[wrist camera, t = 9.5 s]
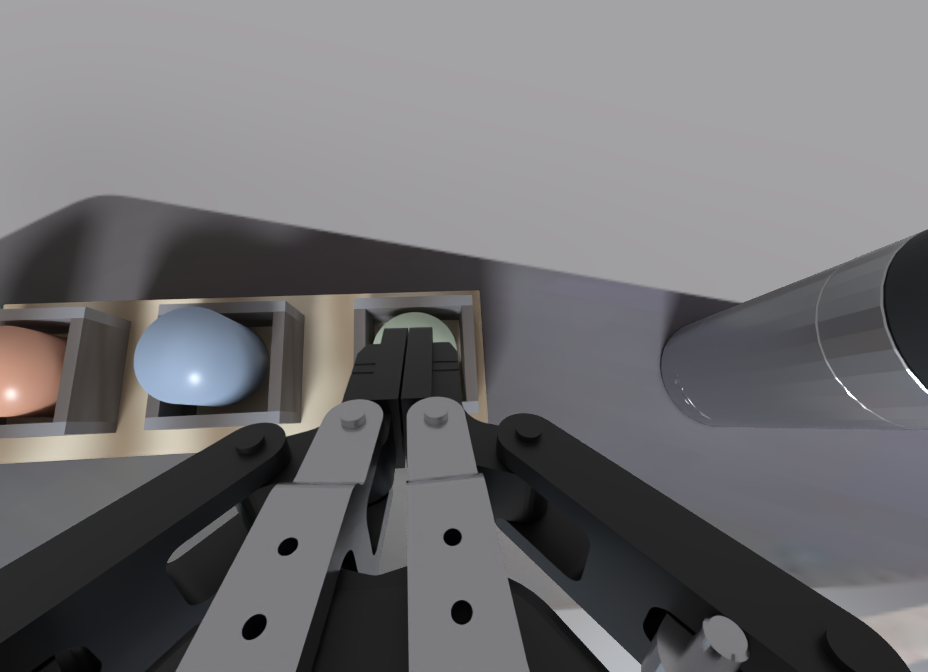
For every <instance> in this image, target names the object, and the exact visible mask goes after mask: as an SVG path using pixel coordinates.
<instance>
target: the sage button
mask: <svg viewBox="0 0 928 672" xmlns="http://www.w3.org/2000/svg"><path fill="white" fill-rule="evenodd" d="M412 327H432V328H433V342H450V343H451V344H452V345H453V347H454V348H455V349H456V350H457V347H456V342H455V339H454V337H453V335H452V333H451V331H450V330H449V328H448V327H447V326H446V325H445V324H444V323H443V322H442V321H440V320H439V319H437V318H436V317H434V316H432V315H429V314H426V313H420V312H410V313H405V314H401V315H398V316H396V317H394V318H392V319H391V320H389V321H388V322H387V323H386V324H385V325H384V326H383V327H382V328H381V329H380V330H379V332H378V333H377V335H376V337H375V340H374V343H373V344H380V343H381V339H382V335H383V331H384V328H408V331H409V328H412Z"/></svg>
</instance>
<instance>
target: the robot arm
mask: <svg viewBox="0 0 928 672" xmlns="http://www.w3.org/2000/svg"><path fill="white" fill-rule="evenodd" d="M661 372H662V378H663V382H664V385H665V387H666V390H667V392H668V394H669V396H670V397H671V399H672V401H673V402H674V403H675V404H676V405H677V406H678V408H679V409H680V410H681V411H682V412H684V413H685V414H686V415H688V416H689V417H690V418H692V419H694V420H696V421H698V422H700V423H702V424H706V425H710V426H719V427H754V428H816V429H879V430H928V230H925V231H923V232H921V233H918V234H915V235H913V236H910V237H908V238H905V239H903V240H900V241H898V242H895V243H892V244H890V245H887V246H885V247H882V248H880V249H877V250H875V251H873V252H870V253H867V254H865V255H863V256H860V257H857V258H855V259H853V260H851V261H848V262H846V263H843V264H840V265H838V266H835V267H833V268H830V269H828V270H825V271H822V272H820V273H817V274H815V275H813V276H810V277H807V278H805V279H802V280H800V281H797V282H795V283H792V284H790V285H787V286H785V287H782V288H779V289H777V290H774V291H772V292H769V293H767V294H764V295H762V296H759V297H757V298H754V299H752V300H749V301H746V302H744V303H741V304H739V305H736V306H734V307H731V308H729V309H726V310H724V311H721V312H718V313H716V314H713V315H711V316H708V317H706V318H703V319H701V320H698V321H696V322H693V323H691V324H688V325H686V326H683V327H682V328H681V329H679V330H678V331H676V332H675V333H674V334H673V335H672V336H671V338H670V339H669V340H668V342H667V344H666V346H665V348H664V351H663V355H662V359H661ZM405 459H407V468H408V481H407V483H406V501H407V566H406V567H403V568H400V569H397V570H394V571H391V572H388V573H385V574H381V575H378V570H379V562H380V557H381V552H382V547H383V542H384V537H385V532H386V527H387V522H388V517H389V512H390V507H391V502H392V496H393V489H392V485H393V481H394V472H395V468H405ZM234 506H236V508H237V510H238V512H239V513H238V514H237V515H236V516H234V517H233V518H232V519H230V520H229V521H228V522H226V523H225V524H224V525H222V526H221V527H220V528H218V529H217V530H216V531H214V532H213V533H212V534H210V535H209V536H208V537H206V538H205V539H204V540H202V541H201V542H200V543H198V544H197V545H196V546H194V547H193V548H192V549H190V550H189V551H188V552H186V553H185V554H184V555H182V556H181V557H180V558H178V559H176V560H175V561H173V562H170V563H167V561H168V559H169V557H170V556H171V555H172V553H173V552H174V551H175V550H176V549H177V548H178V547H179V546H180V545H182V544H183V543H184V542H186V541H187V540H188V539H190V538H191V537H193V536H194V535H195V534H197V533H198V532H199V531H201V530H202V529H204V528H205V527H206V526H208V525H209V524H210V523H212V522H213V521H215V520H216V519H217V518H219V517H220V516H221V515H223V514H224V513H225V512H227V511H228V510H230V509H231V508H232V507H234ZM495 523H496V525H497V526H498V527H499V529H500V530H501V531H502V532H503V533H504V534H506V535H507V536H508V537H509V538H510V539H511V540H512V541H513V542H514V543H515V544H516V545H517V546H518V547H519V548H520V549H521V550H522V551H523V552H524V553H525V554H526V555H527V556H528V557H530V558H531V559H532V560H533V561H534V562H535V563H536V564H537V565H538V566H539V567H540V568H541V569H542V570H543V571H544V572H545V573H546V574H547V575H548V576H549V577H550V578H551V579H552V580H553V581H555V582H556V583H557V584H558V585H559V586H560V587H561V588H562V589H563V590H564V591H565V592H566V593H567V594H568V595H569V596H570V597H571V598H572V599H573V600H574V601H575V602H576V603H577V604H578V605H580V606H581V607H582V608H583V609H584V610H585V611H586V612H587V613H588V614H589V615H590V616H591V617H592V618H593V619H594V620H595V621H596V622H597V623H598V624H599V625H600V626H601V627H603V628H604V629H605V630H606V631H607V632H608V633H609V634H610V635H611V636H612V637H613V638H614V639H615V640H616V641H617V642H618V643H619V644H620V645H621V646H623V648H624V649H626V651H628V652H629V653H630V654H631V655H632V656H633V657H634V658H635V659H636V660H637V661H638V662H639V663H640V664H641V665H642V666H641V672H911V671H910V670H909V668H908V667H907V665H906V664H905V662H904V661H903V660H902V658H901V657H900V656H899V655H898V653H897V652H896V651H895V650H894V649H893V648H892V647H891V646H890V645H889V644H888V643H887V642H886V641H885V640H884V639H883V638H882V637H881V636H880V635H879V634H878V633H877V632H875V631H874V630H873V629H872V628H870V627H869V626H868V625H867V624H865V623H864V622H862V621H861V620H859V619H858V618H857V617H855V616H853V615H852V614H850V613H849V612H847V611H846V610H844V609H842V608H841V607H839V606H838V605H836V604H835V603H833V602H831V601H830V600H828V599H827V598H825V597H823V596H822V595H821V594H819V593H817V592H816V591H814V590H813V589H811V588H810V587H808V586H806V585H805V584H803V583H802V582H800V581H799V580H797V579H795V578H794V577H792V576H791V575H789V574H788V573H786V572H784V571H783V570H781V569H780V568H778V567H777V566H775V565H774V564H772V563H770V562H769V561H767V560H766V559H764V558H763V557H761V556H759V555H758V554H756V553H755V552H753V551H752V550H750V549H748V548H747V547H745V546H744V545H742V544H741V543H739V542H737V541H736V540H734V539H733V538H731V537H730V536H728V535H727V534H725V533H723V532H722V531H720V530H719V529H717V528H716V527H714V526H712V525H711V524H709V523H708V522H706V521H705V520H703V519H701V518H700V517H698V516H697V515H695V514H694V513H692V512H690V511H689V510H687V509H686V508H684V507H683V506H681V505H679V504H678V503H676V502H675V501H673V500H672V499H670V498H669V497H667V496H665V495H664V494H662V493H661V492H659V491H658V490H656V489H654V488H653V487H651V486H650V485H648V484H647V483H645V482H643V481H642V480H640V479H639V478H637V477H636V476H634V475H632V474H631V473H629V472H628V471H626V470H625V469H623V468H622V467H620V466H618V465H617V464H615V463H614V462H612V461H611V460H609V459H607V458H606V457H604V456H603V455H601V454H600V453H598V452H596V451H595V450H593V449H592V448H590V447H589V446H587V445H585V444H584V443H582V442H581V441H579V440H578V439H576V438H575V437H573V436H571V435H570V434H568V433H567V432H565V431H564V430H562V429H560V428H559V427H557V426H556V425H554V424H553V423H551V422H549V421H548V420H546V419H544V418H542V417H540V416H537V415H534V414H526V413H521V414H514V415H511V416H509V417H507V418H505V419H504V420H503V421H502V422H501V423H500V424H499V426H498V425H493V424H488V423H484V422H481V421H478V420H476V419H474V418H473V417H471V416H470V415H469V414H468V413H467V412H466V411H465V410H464V408H463V405H462V398H461V388H460V378H459V367H458V357H457V350H456V349H455V348H454V347H453V345H452V344H451V343H450V342H433V328H432V327H412V328H409V331H408V328H384V331H383V335H382V339H381V343H380V344H367V345H366V346H365V347H364V348H363V349H362V350H361V351H360V352H359V353H358V354H357V357H356V360H355V363H354V366H353V369H352V372H351V375H350V378H349V381H348V385H347V388H346V391H345V394H344V397H343V400H342V403H341V404H339V405H337V406H335V407H333V408H332V409H331V410H330V411H329V412H328V413H327V414H326V415H325V417H324V419H323V421H322V423H321V425H320V426H319V427H317V428H315V429H312V430H309V431H305V432H301V433H298V434H294V435H290V436H286V434H285V431H284V430H283V428H282V427H281V426H279V425H277V424H274V423H255V424H251V425H248V426H245V427H242V428H240V429H238V430H236V431H234V432H232V433H231V434H229V435H227V436H226V437H224V438H222V439H220V440H219V441H217V442H215V443H214V444H212V445H210V446H208V447H207V448H205V449H203V450H202V451H200V452H198V453H197V454H195V455H193V456H191V457H190V458H188V459H186V460H185V461H183V462H181V463H180V464H178V465H176V466H174V467H173V468H171V469H169V470H168V471H166V472H164V473H163V474H161V475H159V476H157V477H156V478H154V479H152V480H151V481H149V482H147V483H146V484H144V485H142V486H140V487H139V488H137V489H135V490H134V491H132V492H130V493H129V494H127V495H125V496H123V497H122V498H120V499H118V500H117V501H115V502H113V503H112V504H110V505H108V506H106V507H105V508H103V509H101V510H100V511H98V512H96V513H95V514H93V515H91V516H89V517H88V518H86V519H84V520H83V521H81V522H79V523H78V524H76V525H74V526H72V527H71V528H69V529H67V530H66V531H64V532H62V533H61V534H59V535H57V536H55V537H54V538H52V539H50V540H49V541H47V542H45V543H44V544H42V545H40V546H38V547H37V548H35V549H33V550H32V551H30V552H28V553H26V554H25V555H23V556H21V557H20V558H18V559H16V560H15V561H13V562H11V563H9V564H8V565H6V566H4V567H3V568H1V569H0V672H609V671H608V670H607V668H606V667H605V666H604V665H603V664H602V663H601V662H600V661H599V660H598V659H597V658H596V656H595V655H594V654H593V653H592V652H591V651H590V650H589V649H588V648H587V647H586V646H585V645H584V643H583V642H582V641H581V640H580V639H579V638H578V637H577V636H576V635H575V634H574V633H573V632H572V631H571V629H570V628H569V627H568V626H567V625H566V624H565V623H564V622H563V621H562V619H561V618H560V617H559V616H558V615H557V614H556V613H555V612H554V611H553V610H552V609H551V608H550V607H549V606H548V605H547V604H546V603H545V602H544V601H543V600H542V599H541V598H540V597H538V596H537V595H536V594H535V593H534V592H532V591H531V590H529V589H528V588H526V587H525V586H523V585H522V584H520V583H518V582H516V581H514V580H512V579H510V578H507V573H506V569H505V565H504V560H503V556H502V552H501V547H500V543H499V539H498V534H497V530H496V526H495Z"/></svg>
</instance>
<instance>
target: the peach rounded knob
mask: <svg viewBox="0 0 928 672" xmlns="http://www.w3.org/2000/svg"><path fill="white" fill-rule="evenodd" d="M67 339H68V338H65V337H61V336H56V335H52V334H48V333H43V332H39V331H34V330H30V329H26V328H21V327H16V326H0V417H48V418H54V414H55V408H56V402H57V396H58V391H59V385H60V379H61V374H62V368H63V362H64V357H65V351H66V345H67Z"/></svg>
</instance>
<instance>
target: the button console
mask: <svg viewBox="0 0 928 672" xmlns="http://www.w3.org/2000/svg"><path fill="white" fill-rule="evenodd" d="M183 307H202V308H207V309H210V310H212V311H215V312H217V313H219V314H221V315H223V316H225V317H227V318H229V319H231V320H233V321H235V322H237V323H239V324H241V325H243V326H245V327H247V328H249V329H251V330H252V331H254V332H255V333H256V334H258V335H259V337H260V338H261V339H262V340H263V342H264V344H265V346H266V349H267V352H268V369H267V373H266V375H265V378H264V380H263V382H262V383H261V385H260V386H259V388H258V389H257V390H256V391H255V392H254V393H253V394H252V395H251V396H249V397H248V398H246V399H245V400H243V401H241V402H239V403H237V404H234V405H230V406H224V407H214V406H200V405H185V404H173V403H167V402H163V401H160V400H158V399H156V398H154V397H152V396H151V395H149V394H148V393H147V392H146V391H145V390H144V389H143V388H142V386H141V385H140V383H139V382H138V380H137V377H136V374H135V370H134V354H135V349H136V346H137V343H138V341H139V339H140V337H141V336H142V334H143V333H144V331H145V330H146V329H147V328H148V326H149V325H150V324H152V323H153V322H154V321H155V320H156V319H158V318H159V317H160V316H162V315H164V314H166V313H168V312H170V311H172V310H175V309H178V308H183ZM410 312H420V313H426V314H429V315H432V316H434V317H436V318H437V319H439V320H440V321H442V322H443V323H444V324H445V325H446V326H447V327H448V328H449V330H450V331H451V333H452V335H453V337H454V339H455V342H456V347H457V357H458V367H459V378H460V388H461V398H462V405H463V408H464V410H465V411H466V412H467V413H468V414H469V415H470V416H471V417H473V418H474V419H476V420H478V421H481V422H484V423H488V414H487V399H486V383H485V368H484V352H483V337H482V322H481V306H480V291H479V290H471V291H437V292H404V293H370V294H337V295H303V296H270V297H236V298H202V299H169V300H135V301H102V302H68V303H35V304H4V307H3V309H0V326H16V327H21V328H26V329H30V330H34V331H39V332H43V333H48V334H52V335H56V336H61V337H65V338H68V339H67V345H66V351H65V357H64V362H63V368H62V374H61V379H60V385H59V391H58V396H57V402H56V408H55V414H54V418H48V417H0V464H5V463H22V462H40V461H57V460H75V459H92V458H110V457H127V456H145V455H163V454H180V453H198V452H200V451H202V450H203V449H205V448H207V447H208V446H210V445H212V444H214V443H215V442H217V441H219V440H220V439H222V438H224V437H226V436H227V435H229V434H231V433H232V432H234V431H236V430H238V429H240V428H242V427H245V426H248V425H251V424H255V423H274V424H277V425H279V426H281V427H282V428H283V430H284V431H285V434H286V436H290V435H294V434H298V433H301V432H305V431H309V430H312V429H315V428H317V427H319V426H320V425H321V423H322V421H323V419H324V417H325V415H326V414H327V413H328V412H329V411H330V410H331V409H332V408H333V407H335V406H337V405H339V404H341V403H342V400H343V397H344V394H345V391H346V388H347V385H348V381H349V378H350V375H351V372H352V369H353V366H354V363H355V360H356V357H357V354H358V353H359V352H360V351H361V350H362V349H363V348H364V347H365V346H366V345H367V344H373V343H374V340H375V337H376V335H377V333H378V332H379V330H380V329H381V328H382V327H383V326H384V325H385V324H386V323H387V322H388V321H389V320H391V319H392V318H394V317H396V316H398V315H401V314H405V313H410Z"/></svg>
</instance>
